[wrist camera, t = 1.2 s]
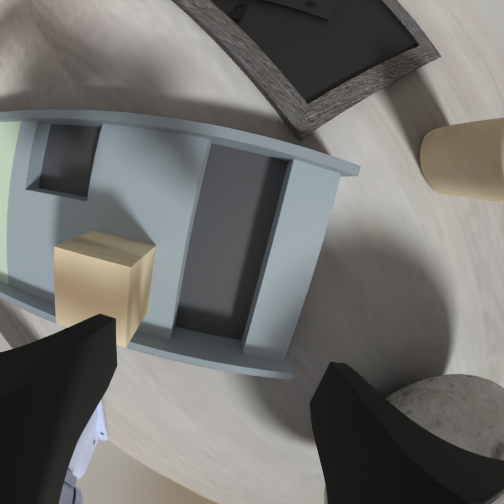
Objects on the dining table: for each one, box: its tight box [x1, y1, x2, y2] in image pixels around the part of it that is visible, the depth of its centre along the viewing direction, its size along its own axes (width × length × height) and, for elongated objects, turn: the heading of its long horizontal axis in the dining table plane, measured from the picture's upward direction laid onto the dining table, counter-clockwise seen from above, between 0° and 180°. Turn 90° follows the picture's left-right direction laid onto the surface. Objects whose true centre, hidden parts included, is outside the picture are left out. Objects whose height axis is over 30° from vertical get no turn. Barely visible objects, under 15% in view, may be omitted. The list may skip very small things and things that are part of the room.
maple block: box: [54, 231, 156, 348], centre depth 14 cm, size 4×4×4 cm
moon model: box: [324, 374, 504, 504], centre depth 14 cm, size 20×20×20 cm
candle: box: [419, 118, 504, 204], centre depth 13 cm, size 6×6×10 cm
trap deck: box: [0, 109, 360, 380], centre depth 16 cm, size 14×31×4 cm, turn 76°
